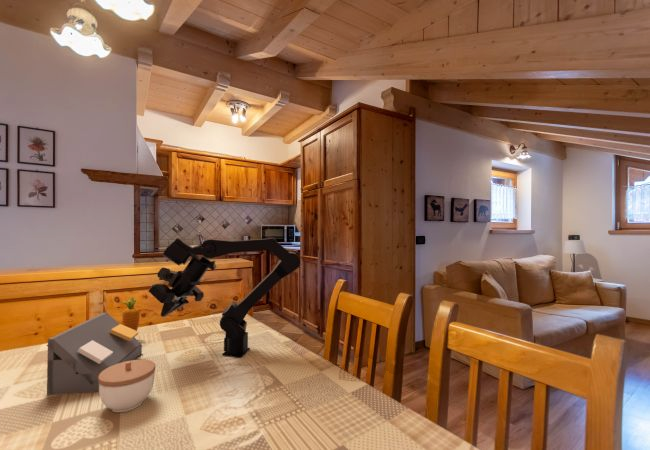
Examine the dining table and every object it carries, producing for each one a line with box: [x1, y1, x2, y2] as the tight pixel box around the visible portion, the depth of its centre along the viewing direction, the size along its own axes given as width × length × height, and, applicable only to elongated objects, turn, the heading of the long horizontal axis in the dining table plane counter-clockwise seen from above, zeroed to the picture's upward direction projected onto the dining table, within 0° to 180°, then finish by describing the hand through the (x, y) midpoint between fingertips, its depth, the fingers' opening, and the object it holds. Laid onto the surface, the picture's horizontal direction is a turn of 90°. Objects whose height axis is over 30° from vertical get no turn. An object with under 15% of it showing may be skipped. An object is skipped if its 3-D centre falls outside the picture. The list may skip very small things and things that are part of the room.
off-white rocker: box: [77, 340, 113, 364], centre depth 76 cm, size 5×5×5 cm
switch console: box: [46, 312, 143, 395], centre depth 82 cm, size 12×22×13 cm, turn 8°
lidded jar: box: [98, 359, 156, 413], centre depth 67 cm, size 11×11×9 cm
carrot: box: [122, 296, 140, 331], centre depth 104 cm, size 5×5×15 cm
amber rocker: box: [109, 323, 140, 341], centre depth 90 cm, size 5×5×5 cm
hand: (162, 315), depth 92 cm, fingers closed
